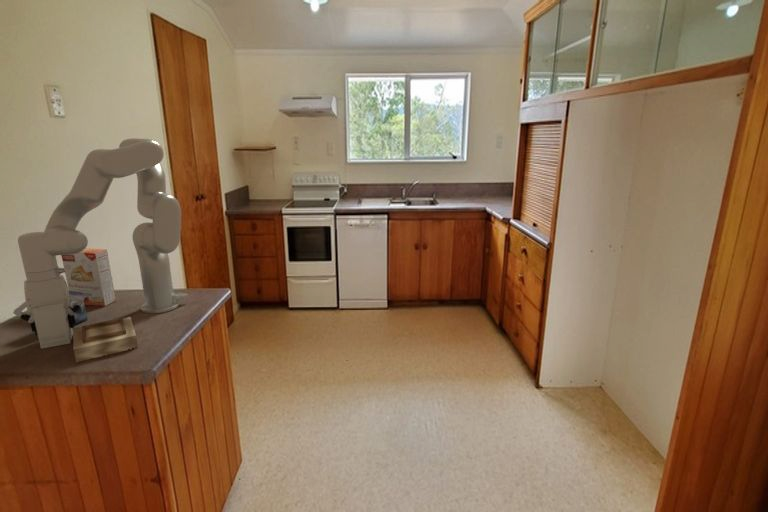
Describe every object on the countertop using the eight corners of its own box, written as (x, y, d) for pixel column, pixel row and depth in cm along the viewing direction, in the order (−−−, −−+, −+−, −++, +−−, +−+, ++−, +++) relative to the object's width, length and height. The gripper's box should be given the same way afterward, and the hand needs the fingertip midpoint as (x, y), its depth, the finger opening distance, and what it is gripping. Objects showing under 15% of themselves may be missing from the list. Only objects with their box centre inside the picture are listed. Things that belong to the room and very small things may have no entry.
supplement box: (71, 343, 124) (62, 304, 121) (40, 349, 121) (30, 309, 117) (74, 333, 131) (66, 296, 127) (44, 339, 127) (35, 301, 124)
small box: (59, 333, 131) (53, 303, 128) (43, 331, 132) (35, 301, 129) (89, 320, 141) (83, 291, 138) (73, 318, 142) (67, 289, 139)
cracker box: (70, 304, 153) (59, 250, 147) (83, 299, 159) (73, 246, 153) (104, 307, 151) (94, 252, 145) (116, 301, 157) (107, 248, 151)
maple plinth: (132, 327, 135) (129, 313, 134) (138, 347, 123) (135, 331, 121) (76, 339, 127) (72, 324, 125) (76, 362, 114) (72, 345, 113)
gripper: (79, 266, 128) (89, 318, 133) (4, 276, 118) (18, 332, 123) (79, 273, 122) (90, 327, 127) (1, 284, 112) (16, 342, 117)
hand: (55, 329), depth 125 cm, fingers closed on supplement box, 7 cm apart
